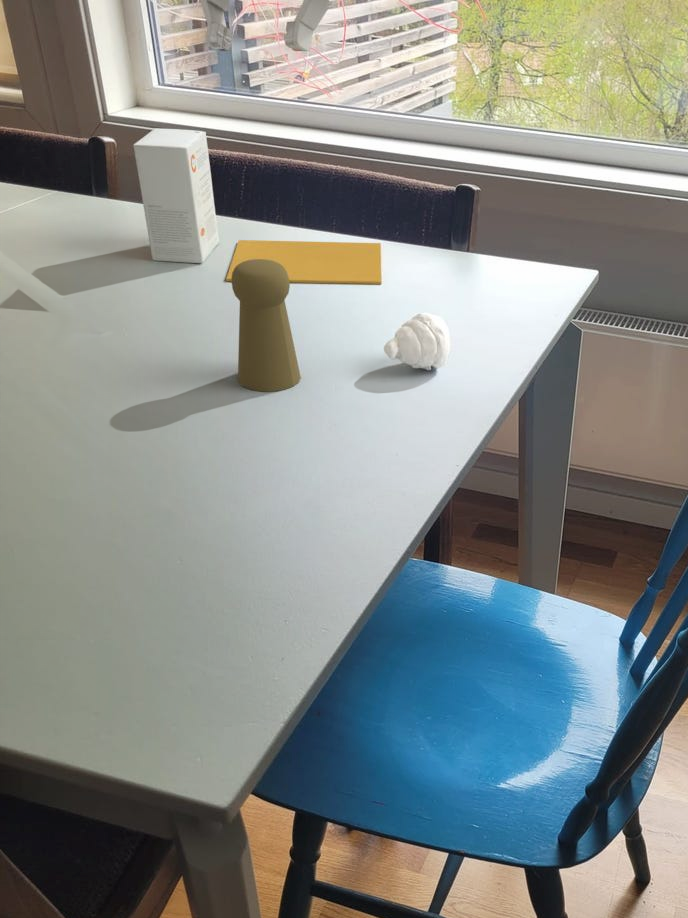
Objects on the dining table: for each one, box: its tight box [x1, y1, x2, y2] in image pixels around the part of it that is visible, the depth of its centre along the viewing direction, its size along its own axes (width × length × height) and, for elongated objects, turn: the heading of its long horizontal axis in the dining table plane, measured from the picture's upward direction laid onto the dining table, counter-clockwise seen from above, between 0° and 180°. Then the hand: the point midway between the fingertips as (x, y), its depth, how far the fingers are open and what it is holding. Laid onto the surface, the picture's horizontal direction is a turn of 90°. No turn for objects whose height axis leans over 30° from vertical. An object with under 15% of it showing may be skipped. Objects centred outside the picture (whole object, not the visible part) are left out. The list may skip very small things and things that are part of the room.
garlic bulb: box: [383, 312, 451, 371], centre depth 98 cm, size 6×6×5 cm
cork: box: [231, 259, 302, 393], centre depth 93 cm, size 6×6×11 cm
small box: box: [132, 127, 220, 264], centre depth 119 cm, size 8×6×13 cm
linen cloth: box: [225, 239, 382, 285], centre depth 122 cm, size 18×14×1 cm
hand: (256, 48), depth 87 cm, fingers open, 8 cm apart
